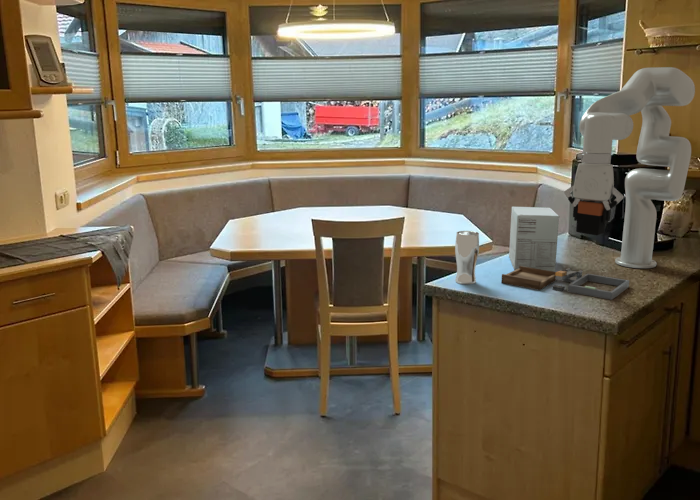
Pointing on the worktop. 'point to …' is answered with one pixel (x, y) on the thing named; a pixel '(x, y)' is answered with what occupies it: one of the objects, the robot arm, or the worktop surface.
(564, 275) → the release key
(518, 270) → the wooden tray
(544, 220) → the supplement box
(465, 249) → the beer glass
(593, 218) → the battery
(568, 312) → the worktop surface
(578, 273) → the key mount
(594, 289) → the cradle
